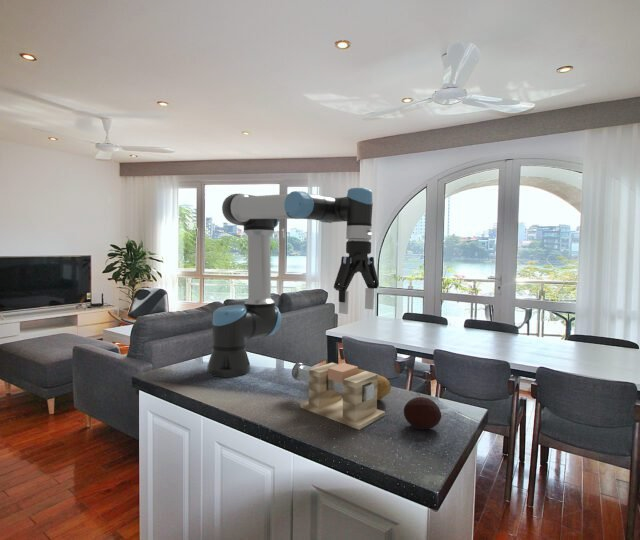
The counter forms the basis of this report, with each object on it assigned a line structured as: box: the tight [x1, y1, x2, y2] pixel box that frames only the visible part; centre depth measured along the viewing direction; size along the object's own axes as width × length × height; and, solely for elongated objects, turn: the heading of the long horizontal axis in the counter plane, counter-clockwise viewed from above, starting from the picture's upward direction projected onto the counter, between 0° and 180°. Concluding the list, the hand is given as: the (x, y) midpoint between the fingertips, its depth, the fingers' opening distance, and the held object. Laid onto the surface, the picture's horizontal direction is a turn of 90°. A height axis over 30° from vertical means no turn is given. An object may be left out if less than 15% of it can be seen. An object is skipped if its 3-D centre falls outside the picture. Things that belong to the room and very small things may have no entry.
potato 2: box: [403, 396, 442, 431], centre depth 98 cm, size 8×9×8 cm
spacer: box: [328, 362, 359, 383], centre depth 107 cm, size 5×7×3 cm
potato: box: [358, 368, 392, 401], centre depth 117 cm, size 10×14×8 cm
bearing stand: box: [300, 362, 386, 430], centre depth 107 cm, size 20×12×11 cm, turn 49°
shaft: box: [291, 362, 374, 401], centre depth 110 cm, size 26×5×5 cm, turn 49°
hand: (356, 311), depth 117 cm, fingers open, 13 cm apart
